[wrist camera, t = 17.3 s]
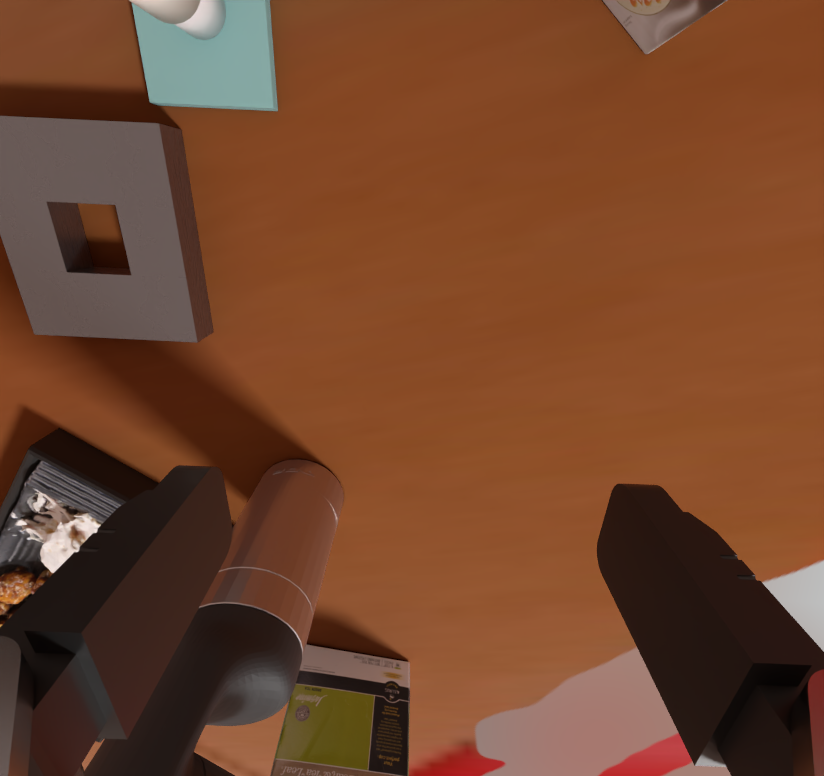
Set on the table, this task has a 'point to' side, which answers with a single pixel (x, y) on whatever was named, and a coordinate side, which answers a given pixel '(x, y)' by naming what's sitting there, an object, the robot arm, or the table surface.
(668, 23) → the coffee box
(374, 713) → the tea box
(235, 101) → the teal square tile
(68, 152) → the socket block
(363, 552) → the table surface
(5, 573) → the food platter
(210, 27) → the cream rounded tapered piece
